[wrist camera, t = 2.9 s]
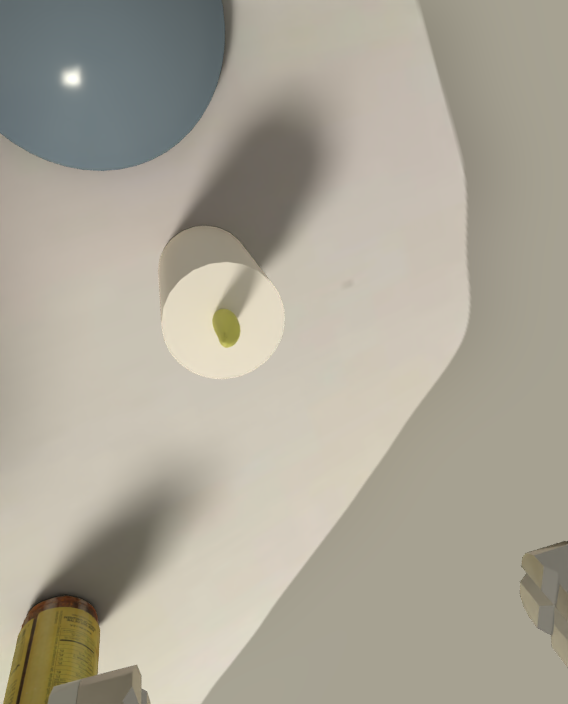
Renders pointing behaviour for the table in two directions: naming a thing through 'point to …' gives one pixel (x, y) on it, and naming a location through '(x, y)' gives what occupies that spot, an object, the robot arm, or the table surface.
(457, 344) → the table surface
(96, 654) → the sauce bottle
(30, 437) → the table surface
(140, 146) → the candle dish
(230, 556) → the table surface
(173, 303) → the candle
